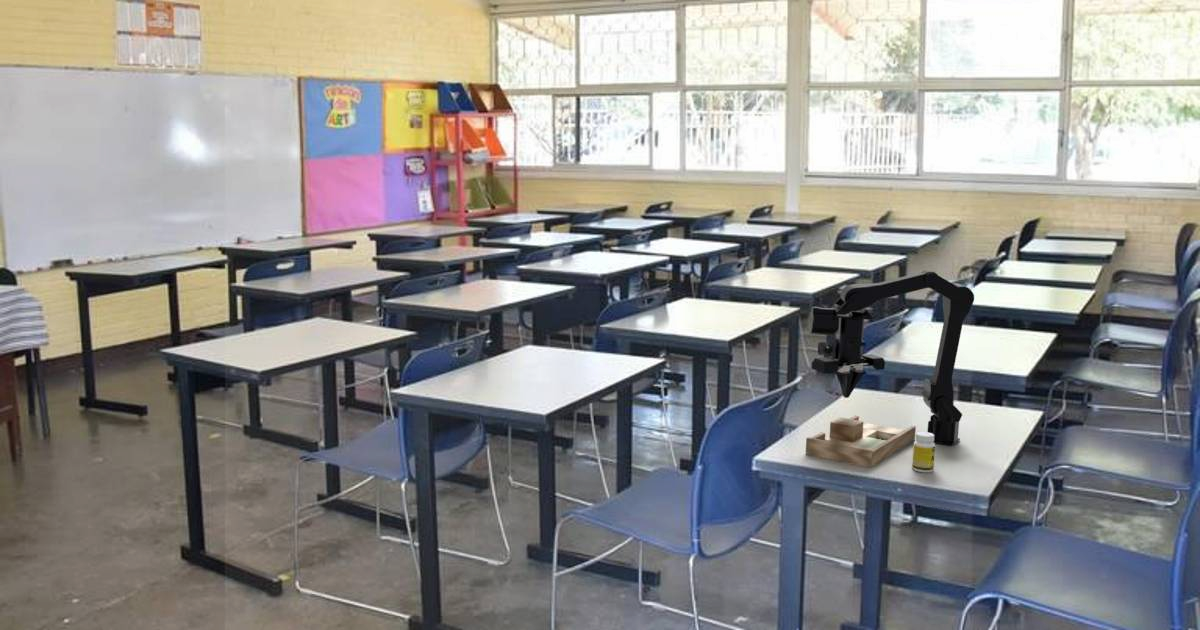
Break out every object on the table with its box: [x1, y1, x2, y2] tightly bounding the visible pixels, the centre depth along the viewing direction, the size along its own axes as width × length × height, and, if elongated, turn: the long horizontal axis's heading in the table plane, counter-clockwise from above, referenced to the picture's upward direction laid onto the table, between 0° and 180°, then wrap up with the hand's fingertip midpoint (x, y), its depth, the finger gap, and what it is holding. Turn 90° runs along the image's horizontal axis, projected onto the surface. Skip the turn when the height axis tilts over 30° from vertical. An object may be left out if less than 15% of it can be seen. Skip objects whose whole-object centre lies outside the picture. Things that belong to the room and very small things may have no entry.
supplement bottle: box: [911, 431, 936, 473], centre depth 236 cm, size 5×5×8 cm
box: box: [805, 415, 916, 468], centre depth 253 cm, size 16×29×4 cm, turn 143°
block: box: [829, 417, 864, 443], centre depth 254 cm, size 6×6×4 cm
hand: (846, 397), depth 259 cm, fingers closed
